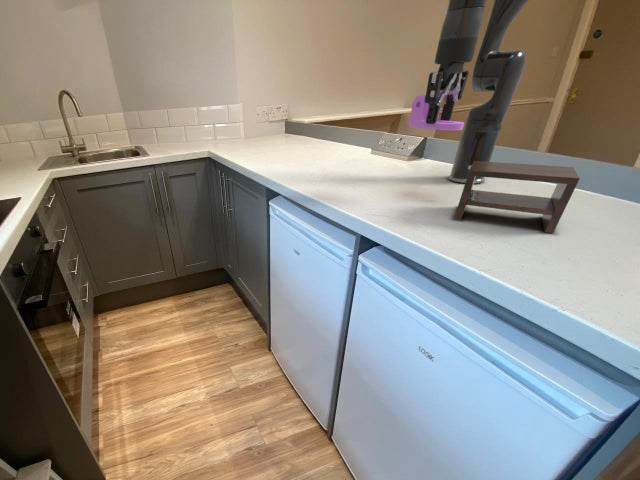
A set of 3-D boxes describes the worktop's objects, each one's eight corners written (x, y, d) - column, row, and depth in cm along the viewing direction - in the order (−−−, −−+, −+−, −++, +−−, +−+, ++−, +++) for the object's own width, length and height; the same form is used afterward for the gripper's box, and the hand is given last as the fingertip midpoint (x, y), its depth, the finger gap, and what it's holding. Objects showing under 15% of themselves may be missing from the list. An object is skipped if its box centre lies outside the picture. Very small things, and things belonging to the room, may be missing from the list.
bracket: (408, 126, 88) (414, 95, 85) (424, 124, 90) (431, 94, 86) (450, 131, 78) (459, 96, 74) (468, 129, 80) (478, 94, 76)
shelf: (459, 206, 86) (474, 160, 80) (549, 218, 77) (573, 167, 71) (453, 219, 78) (469, 169, 72) (553, 233, 69) (580, 178, 64)
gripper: (461, 33, 68) (438, 126, 77) (491, 35, 75) (467, 120, 84) (424, 38, 73) (407, 124, 82) (456, 39, 80) (437, 119, 89)
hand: (438, 122), depth 83 cm, fingers closed on bracket, 6 cm apart
